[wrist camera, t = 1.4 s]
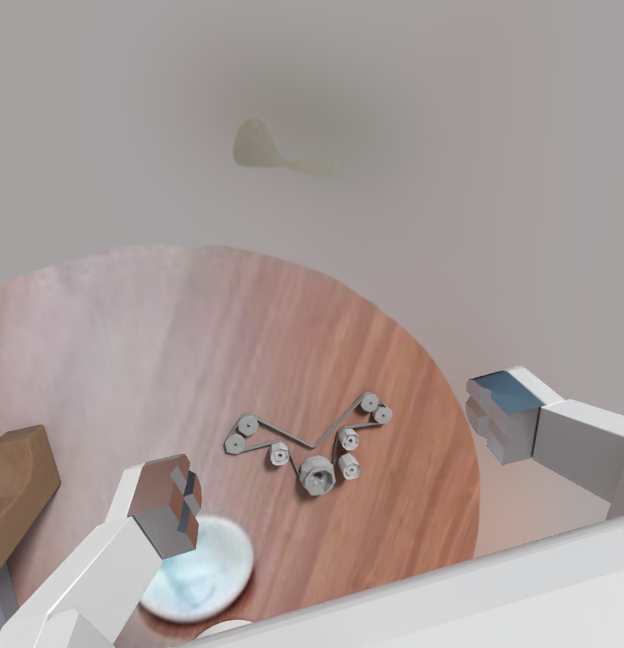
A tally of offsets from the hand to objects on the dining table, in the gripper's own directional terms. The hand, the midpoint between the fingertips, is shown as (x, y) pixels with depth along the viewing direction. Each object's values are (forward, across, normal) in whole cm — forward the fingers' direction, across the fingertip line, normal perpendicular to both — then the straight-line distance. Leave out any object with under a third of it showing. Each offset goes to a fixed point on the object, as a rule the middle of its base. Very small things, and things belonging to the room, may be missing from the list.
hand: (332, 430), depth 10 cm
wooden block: (+32, -38, -24) cm, 55 cm away
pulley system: (+35, -2, -37) cm, 52 cm away
